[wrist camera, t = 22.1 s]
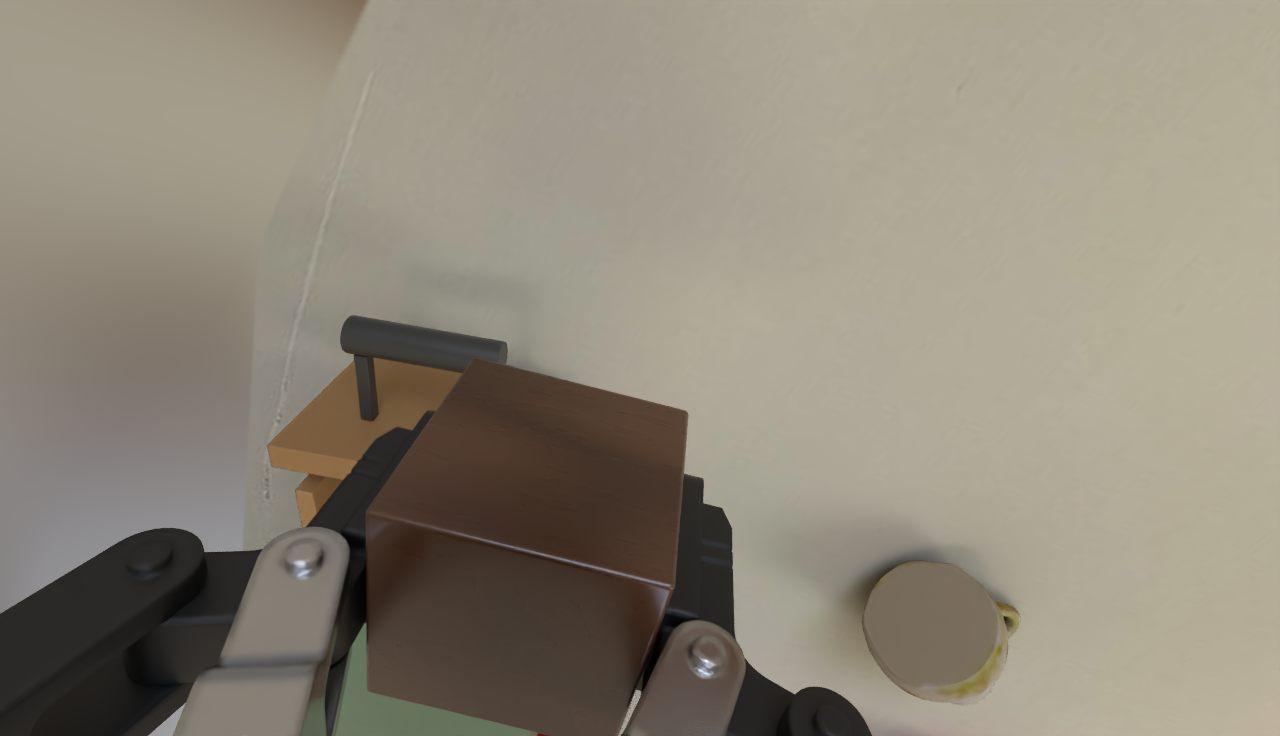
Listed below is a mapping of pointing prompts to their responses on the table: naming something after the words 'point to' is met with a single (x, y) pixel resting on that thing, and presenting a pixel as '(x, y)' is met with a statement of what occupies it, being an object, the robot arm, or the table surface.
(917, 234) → the table surface
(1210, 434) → the table surface
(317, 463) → the drawer
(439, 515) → the block
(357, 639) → the cabinet
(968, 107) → the table surface
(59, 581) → the robot arm
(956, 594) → the mug
